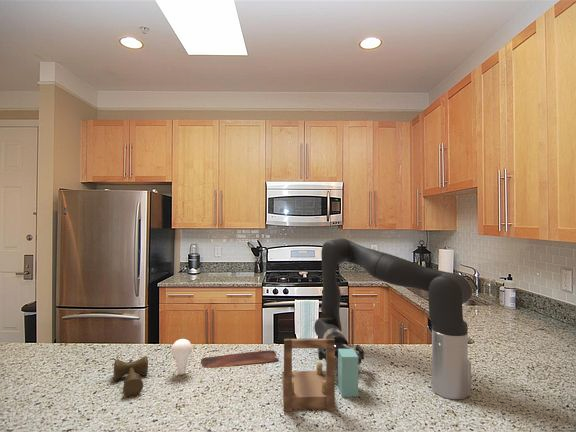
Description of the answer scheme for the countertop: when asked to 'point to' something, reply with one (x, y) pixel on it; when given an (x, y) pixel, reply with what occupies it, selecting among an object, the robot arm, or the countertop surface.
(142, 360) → the kendama
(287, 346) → the peg shelf
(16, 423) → the countertop surface
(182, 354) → the lightbulb
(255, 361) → the wooden tablet
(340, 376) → the teal block
